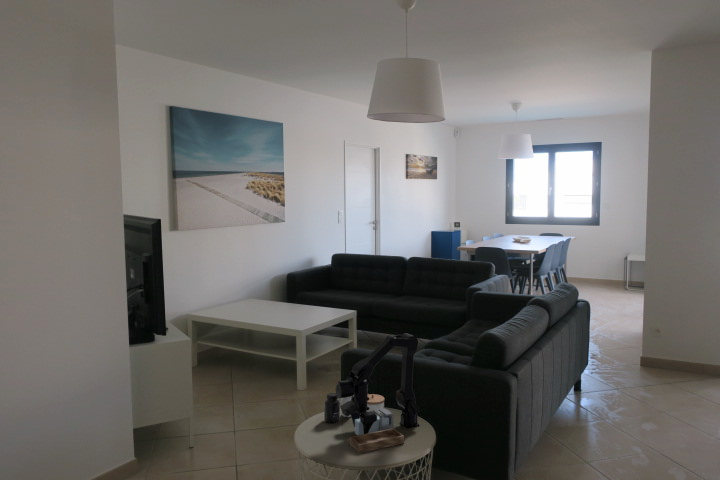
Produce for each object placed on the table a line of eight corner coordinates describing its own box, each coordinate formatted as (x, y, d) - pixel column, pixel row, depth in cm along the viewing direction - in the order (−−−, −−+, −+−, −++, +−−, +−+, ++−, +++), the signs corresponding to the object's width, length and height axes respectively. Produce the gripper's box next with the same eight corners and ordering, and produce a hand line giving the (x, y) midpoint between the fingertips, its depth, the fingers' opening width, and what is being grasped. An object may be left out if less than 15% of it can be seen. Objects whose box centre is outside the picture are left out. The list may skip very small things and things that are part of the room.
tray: (393, 435, 225) (393, 428, 225) (403, 443, 217) (404, 435, 217) (349, 444, 216) (350, 437, 216) (359, 452, 208) (359, 445, 208)
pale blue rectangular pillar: (384, 427, 233) (384, 414, 232) (388, 431, 229) (389, 417, 229) (354, 433, 227) (354, 419, 226) (358, 437, 223) (358, 422, 223)
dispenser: (385, 425, 235) (385, 407, 234) (393, 431, 229) (393, 413, 228) (372, 428, 232) (372, 410, 231) (380, 434, 226) (380, 415, 225)
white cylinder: (357, 413, 248) (357, 381, 247) (351, 419, 242) (352, 386, 241) (343, 411, 250) (343, 379, 249) (337, 417, 244) (338, 384, 243)
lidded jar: (368, 421, 240) (368, 400, 239) (356, 412, 249) (356, 392, 248) (388, 416, 245) (388, 396, 244) (376, 408, 254) (376, 389, 254)
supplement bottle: (337, 424, 235) (337, 397, 235) (322, 423, 237) (322, 396, 236) (341, 418, 242) (341, 392, 241) (326, 417, 243) (326, 391, 243)
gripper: (333, 390, 229) (333, 426, 230) (353, 405, 213) (352, 443, 213) (357, 386, 234) (357, 422, 235) (377, 400, 217) (377, 438, 218)
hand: (360, 431), depth 225 cm, fingers open, 9 cm apart
